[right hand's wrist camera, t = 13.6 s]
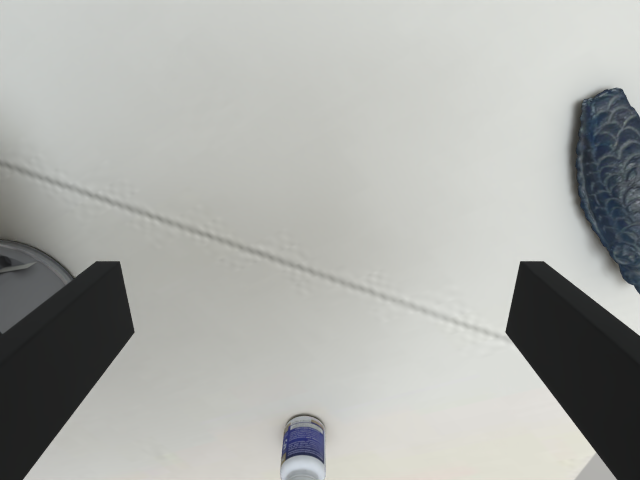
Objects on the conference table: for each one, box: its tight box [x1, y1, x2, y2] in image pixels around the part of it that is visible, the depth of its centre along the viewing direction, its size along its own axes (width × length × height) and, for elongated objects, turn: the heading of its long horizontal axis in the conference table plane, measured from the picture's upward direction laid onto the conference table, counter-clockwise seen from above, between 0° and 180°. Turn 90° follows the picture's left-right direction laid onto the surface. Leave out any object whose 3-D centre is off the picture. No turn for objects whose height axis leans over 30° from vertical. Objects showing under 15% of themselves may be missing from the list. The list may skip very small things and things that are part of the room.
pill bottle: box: [280, 416, 326, 480], centre depth 45 cm, size 5×5×9 cm
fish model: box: [575, 88, 640, 294], centre depth 36 cm, size 7×21×5 cm, turn 27°
